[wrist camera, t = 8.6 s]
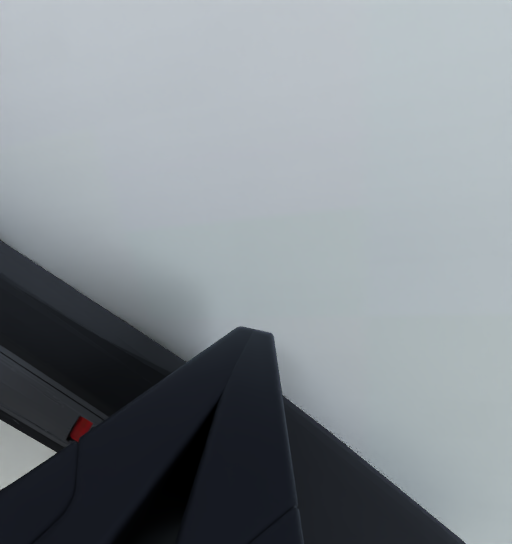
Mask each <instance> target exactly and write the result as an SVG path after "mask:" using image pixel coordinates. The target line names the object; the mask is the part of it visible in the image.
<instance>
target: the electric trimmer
mask: <svg viewBox="0 0 512 544" xmlns="http://www.w3.org/2000/svg"><path fill="white" fill-rule="evenodd" d="M185 363H187V362H185V361H184V360H182V359H181V358H179V357H178V356H176V355H175V354H173V353H171V352H170V351H168V350H167V349H165V348H164V347H162V346H161V345H159V344H158V343H156V342H155V341H153V340H152V339H150V338H149V337H147V336H146V335H144V334H142V333H141V332H139V331H138V330H136V329H135V328H133V327H132V326H130V325H129V324H127V323H126V322H124V321H123V320H121V319H120V318H118V317H117V316H115V315H113V314H112V313H110V312H109V311H107V310H106V309H104V308H103V307H101V306H100V305H98V304H97V303H95V302H94V301H92V300H91V299H89V298H88V297H86V296H84V295H83V294H81V293H80V292H78V291H77V290H75V289H74V288H72V287H71V286H69V285H68V284H66V283H65V282H63V281H62V280H60V279H59V278H57V277H55V276H54V275H52V274H51V273H49V272H48V271H46V270H45V269H43V268H42V267H40V266H39V265H37V264H36V263H34V262H33V261H31V260H30V259H28V258H26V257H25V256H23V255H22V254H20V253H19V252H17V251H16V250H14V249H13V248H11V247H10V246H8V245H7V244H5V243H4V242H2V241H1V240H0V420H2V421H4V422H6V423H7V424H9V425H11V426H12V427H14V428H16V429H18V430H19V431H21V432H23V433H25V434H26V435H28V436H30V437H31V438H33V439H35V440H37V441H38V442H40V443H42V444H44V445H45V446H47V447H49V448H50V449H52V450H54V451H56V452H57V453H58V452H59V451H61V450H62V449H64V448H65V447H66V446H68V445H69V444H71V443H72V442H74V441H77V442H78V443H79V438H80V437H81V436H82V435H84V434H85V433H87V432H88V431H90V430H91V429H92V428H94V427H95V426H97V425H98V424H100V423H101V422H102V421H104V420H105V419H107V418H108V417H110V416H111V415H113V414H114V413H115V412H117V411H118V410H120V409H121V408H123V407H124V406H125V405H127V404H128V403H130V402H131V401H133V400H134V399H135V398H137V397H138V396H140V395H141V394H143V393H144V392H145V391H147V390H148V389H150V388H151V387H153V386H154V385H155V384H157V383H158V382H160V381H161V380H163V379H164V378H165V377H167V376H168V375H170V374H171V373H173V372H174V371H175V370H177V369H178V368H180V367H181V366H183V365H184V364H185ZM282 398H283V404H284V411H285V418H286V425H287V432H288V439H289V446H290V453H291V460H292V466H293V473H294V480H295V487H296V494H297V501H298V506H297V508H298V509H299V513H300V520H301V527H302V534H303V540H304V544H465V543H464V541H462V540H461V539H460V538H459V537H458V536H456V535H455V534H454V533H453V532H451V531H450V530H449V529H448V528H447V527H445V526H444V525H443V524H442V523H440V522H439V521H438V520H437V519H436V518H434V517H433V516H432V515H431V514H429V513H428V512H427V511H426V510H425V509H423V508H422V507H421V506H420V505H418V504H417V503H416V502H415V501H414V500H412V499H411V498H410V497H409V496H407V495H406V494H405V493H404V492H403V491H401V490H400V489H399V488H398V487H396V486H395V485H394V484H393V483H392V482H390V481H389V480H388V479H387V478H385V477H384V476H383V475H382V474H381V473H379V472H378V471H377V470H376V469H374V468H373V467H372V466H371V465H370V464H368V463H367V462H366V461H365V460H363V459H362V458H361V457H360V456H359V455H357V454H356V453H355V452H354V451H352V450H351V449H350V448H349V447H348V446H346V445H345V444H344V443H343V442H341V441H340V440H339V439H338V438H337V437H335V436H334V435H333V434H332V433H330V432H329V431H328V430H327V429H325V428H324V427H323V426H321V425H320V424H319V423H317V422H316V421H315V420H314V419H312V418H311V417H310V416H308V415H307V414H306V413H305V412H303V411H302V410H301V409H299V408H298V407H297V406H295V405H294V404H293V403H292V402H290V401H289V400H288V399H286V398H285V397H284V396H283V395H282Z"/></svg>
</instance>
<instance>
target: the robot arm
mask: <svg viewBox="0 0 512 544" xmlns="http://www.w3.org/2000/svg"><path fill="white" fill-rule="evenodd" d="M297 506H298V501H297V494H296V487H295V480H294V473H293V466H292V460H291V453H290V446H289V439H288V432H287V425H286V418H285V411H284V404H283V398H282V391H281V384H280V377H279V370H278V363H277V356H276V349H275V342H274V336H273V334H272V333H269V332H264V331H260V330H255V329H251V328H246V327H237V328H236V329H234V330H233V331H231V332H230V333H228V334H227V335H226V336H224V337H223V338H221V339H220V340H218V341H217V342H216V343H214V344H213V345H211V346H210V347H208V348H207V349H206V350H204V351H203V352H201V353H200V354H198V355H197V356H195V357H194V358H193V359H191V360H190V361H188V362H187V363H185V364H184V365H183V366H181V367H180V368H178V369H177V370H175V371H174V372H173V373H171V374H170V375H168V376H167V377H165V378H164V379H163V380H161V381H160V382H158V383H157V384H155V385H154V386H153V387H151V388H150V389H148V390H147V391H145V392H144V393H143V394H141V395H140V396H138V397H137V398H135V399H134V400H133V401H131V402H130V403H128V404H127V405H125V406H124V407H123V408H121V409H120V410H118V411H117V412H115V413H114V414H113V415H111V416H110V417H108V418H107V419H105V420H104V421H102V422H101V423H100V424H98V425H97V426H95V427H94V428H92V429H91V430H90V431H88V432H87V433H85V434H84V435H82V436H81V437H80V438H79V443H78V442H77V441H74V442H72V443H71V444H69V445H68V446H66V447H65V448H64V449H62V450H61V451H59V452H58V453H56V454H55V455H53V456H52V457H51V458H49V459H48V460H46V461H45V462H43V463H42V464H40V465H39V466H37V467H36V468H34V469H33V470H31V471H30V472H28V473H27V474H25V475H24V476H22V477H21V478H19V479H18V480H16V481H15V482H13V483H12V484H10V485H8V486H7V487H5V488H3V489H2V490H0V544H304V540H303V534H302V527H301V520H300V513H299V509H298V508H297Z"/></svg>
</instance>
